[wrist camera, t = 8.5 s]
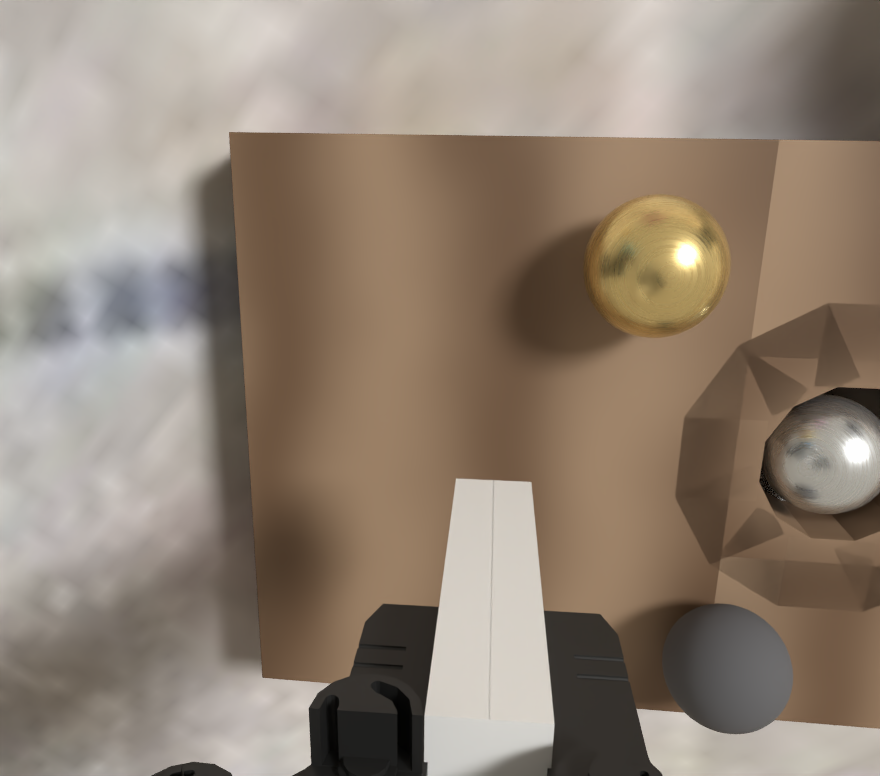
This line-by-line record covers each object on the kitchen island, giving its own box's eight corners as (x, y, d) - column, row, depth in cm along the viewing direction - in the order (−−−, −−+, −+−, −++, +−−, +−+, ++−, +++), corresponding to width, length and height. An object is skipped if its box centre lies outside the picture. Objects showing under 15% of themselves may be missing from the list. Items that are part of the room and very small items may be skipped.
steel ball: (773, 481, 24) (736, 510, 21) (786, 378, 23) (749, 396, 21) (894, 508, 22) (869, 545, 19) (912, 396, 21) (888, 418, 19)
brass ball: (573, 320, 20) (584, 350, 17) (582, 190, 19) (595, 195, 16) (702, 325, 20) (739, 356, 17) (718, 193, 19) (760, 198, 16)
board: (285, 632, 27) (262, 677, 24) (260, 136, 22) (229, 132, 20) (927, 681, 25) (970, 736, 22) (1056, 147, 20) (1129, 144, 18)
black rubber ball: (647, 674, 23) (669, 757, 20) (658, 576, 22) (682, 647, 19) (761, 682, 23) (801, 768, 19) (777, 584, 22) (823, 657, 18)
